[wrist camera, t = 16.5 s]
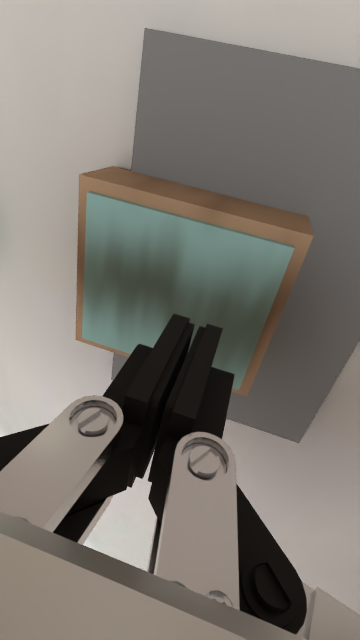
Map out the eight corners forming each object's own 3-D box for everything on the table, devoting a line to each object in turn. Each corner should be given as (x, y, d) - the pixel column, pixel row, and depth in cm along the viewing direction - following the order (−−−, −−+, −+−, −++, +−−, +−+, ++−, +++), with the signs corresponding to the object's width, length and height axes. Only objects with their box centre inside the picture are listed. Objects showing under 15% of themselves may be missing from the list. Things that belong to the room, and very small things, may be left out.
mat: (298, 436, 21) (298, 443, 21) (114, 374, 23) (111, 379, 22) (495, 97, 11) (503, 95, 11) (149, 31, 13) (144, 28, 13)
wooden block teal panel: (246, 401, 16) (72, 343, 17) (252, 360, 18) (102, 312, 20) (314, 238, 11) (75, 175, 13) (308, 216, 14) (112, 166, 15)
